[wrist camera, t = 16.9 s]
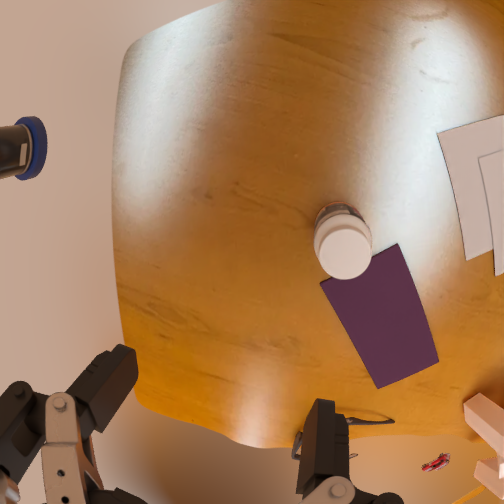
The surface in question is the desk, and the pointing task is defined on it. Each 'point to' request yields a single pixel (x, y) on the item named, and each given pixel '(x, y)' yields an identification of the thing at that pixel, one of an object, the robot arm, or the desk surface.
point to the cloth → (384, 318)
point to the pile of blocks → (488, 440)
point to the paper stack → (478, 184)
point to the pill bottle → (342, 241)
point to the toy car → (437, 463)
